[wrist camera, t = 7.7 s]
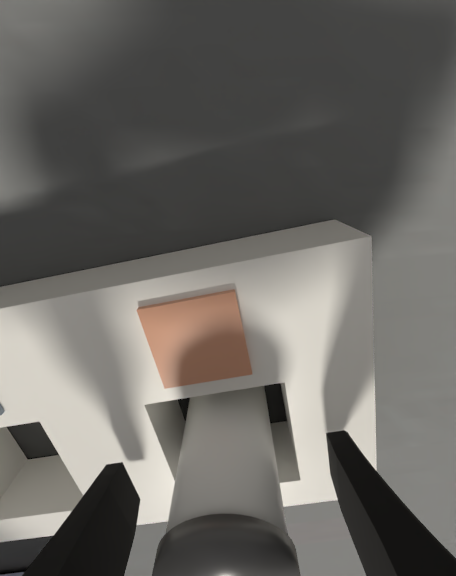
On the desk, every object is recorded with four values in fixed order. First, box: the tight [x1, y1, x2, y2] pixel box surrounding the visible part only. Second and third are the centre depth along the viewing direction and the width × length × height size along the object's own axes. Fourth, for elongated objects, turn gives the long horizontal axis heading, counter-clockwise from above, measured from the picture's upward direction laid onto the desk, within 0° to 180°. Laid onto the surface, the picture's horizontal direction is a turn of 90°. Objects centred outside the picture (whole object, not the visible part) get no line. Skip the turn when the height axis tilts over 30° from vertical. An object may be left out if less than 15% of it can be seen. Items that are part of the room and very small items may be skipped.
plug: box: [152, 386, 300, 576], centre depth 11 cm, size 4×4×7 cm
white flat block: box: [0, 219, 377, 542], centre depth 12 cm, size 11×20×3 cm, turn 102°
